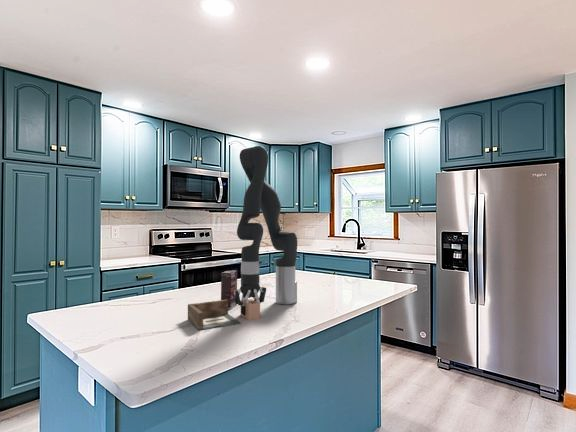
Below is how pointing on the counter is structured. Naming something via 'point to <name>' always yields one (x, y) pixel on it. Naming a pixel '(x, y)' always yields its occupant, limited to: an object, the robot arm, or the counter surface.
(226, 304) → the arena
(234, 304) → the supplement box
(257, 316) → the terracotta block
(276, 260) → the robot arm
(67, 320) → the counter surface
